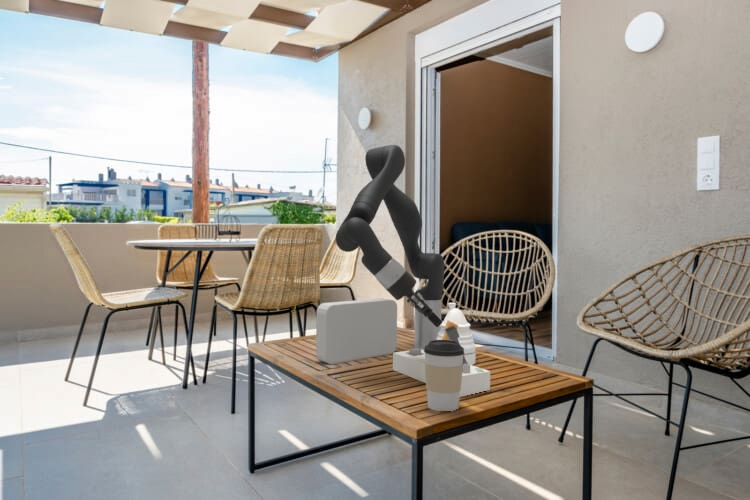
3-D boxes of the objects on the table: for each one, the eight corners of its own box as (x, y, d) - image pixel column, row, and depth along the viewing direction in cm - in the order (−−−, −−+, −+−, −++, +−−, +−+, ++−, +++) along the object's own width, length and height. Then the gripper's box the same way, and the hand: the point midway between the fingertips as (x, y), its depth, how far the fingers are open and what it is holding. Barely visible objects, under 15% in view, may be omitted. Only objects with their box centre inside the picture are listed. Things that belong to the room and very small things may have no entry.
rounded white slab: (382, 349, 174) (382, 297, 173) (396, 353, 168) (397, 299, 167) (311, 360, 155) (312, 302, 155) (325, 365, 150) (326, 305, 149)
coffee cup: (419, 400, 118) (420, 337, 117) (457, 400, 119) (458, 336, 118) (427, 413, 109) (428, 345, 108) (468, 413, 110) (469, 344, 109)
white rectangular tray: (420, 365, 151) (420, 342, 151) (489, 390, 126) (490, 363, 126) (392, 369, 145) (393, 345, 145) (459, 397, 121) (460, 368, 121)
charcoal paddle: (468, 365, 129) (453, 325, 128) (472, 369, 125) (456, 328, 125) (460, 368, 129) (444, 329, 128) (463, 372, 125) (447, 331, 125)
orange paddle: (439, 360, 138) (455, 323, 137) (441, 363, 134) (458, 325, 134) (431, 356, 137) (447, 320, 137) (433, 360, 134) (450, 322, 134)
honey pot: (426, 358, 160) (426, 302, 160) (458, 355, 166) (459, 300, 165) (449, 368, 148) (450, 307, 148) (484, 363, 154) (485, 305, 154)
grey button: (416, 357, 147) (416, 347, 147) (423, 360, 144) (423, 349, 144) (406, 359, 145) (406, 348, 145) (413, 361, 142) (413, 351, 142)
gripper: (407, 270, 128) (454, 318, 129) (402, 267, 141) (445, 311, 142) (386, 290, 128) (433, 339, 129) (383, 286, 141) (426, 329, 142)
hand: (439, 324), depth 135 cm, fingers closed
